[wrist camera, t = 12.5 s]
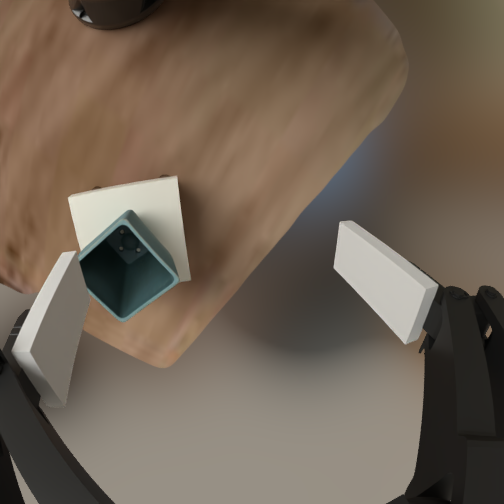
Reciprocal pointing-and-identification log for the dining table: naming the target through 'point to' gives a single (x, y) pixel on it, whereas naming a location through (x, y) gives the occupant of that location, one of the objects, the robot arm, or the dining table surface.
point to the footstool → (144, 205)
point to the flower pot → (127, 267)
